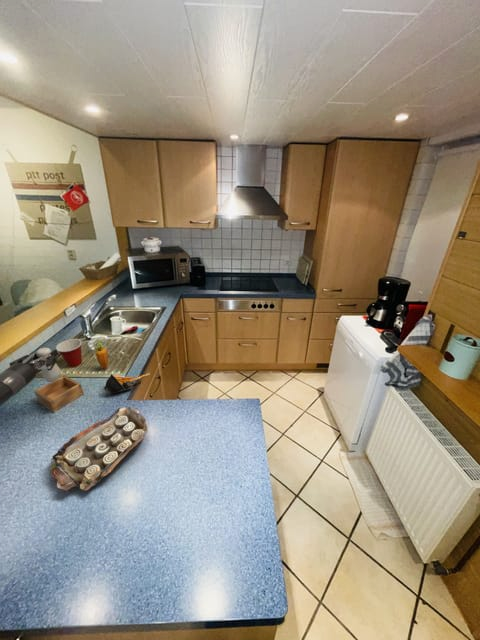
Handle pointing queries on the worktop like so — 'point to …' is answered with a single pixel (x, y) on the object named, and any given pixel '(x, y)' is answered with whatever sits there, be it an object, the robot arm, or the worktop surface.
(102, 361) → the carrot
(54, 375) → the salt shaker
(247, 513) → the worktop surface
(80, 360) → the plastic cup
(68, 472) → the baking tray
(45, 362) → the robot arm
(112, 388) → the fried shrimp in bowl
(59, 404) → the box
